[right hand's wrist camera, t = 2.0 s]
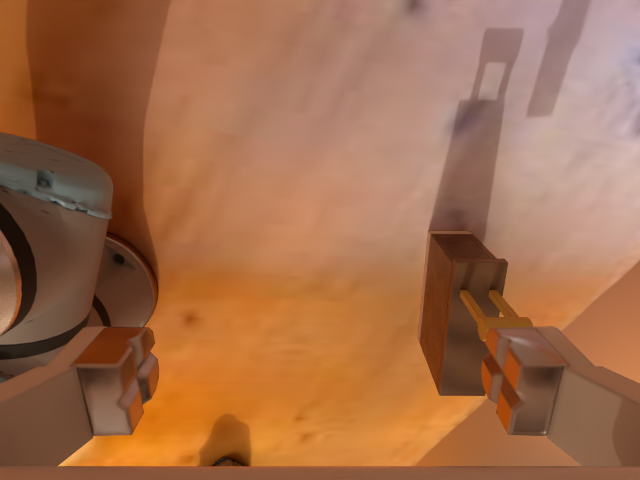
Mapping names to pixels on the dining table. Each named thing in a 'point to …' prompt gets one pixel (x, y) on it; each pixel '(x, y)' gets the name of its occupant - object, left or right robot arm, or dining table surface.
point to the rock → (227, 462)
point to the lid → (473, 323)
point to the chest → (442, 288)
